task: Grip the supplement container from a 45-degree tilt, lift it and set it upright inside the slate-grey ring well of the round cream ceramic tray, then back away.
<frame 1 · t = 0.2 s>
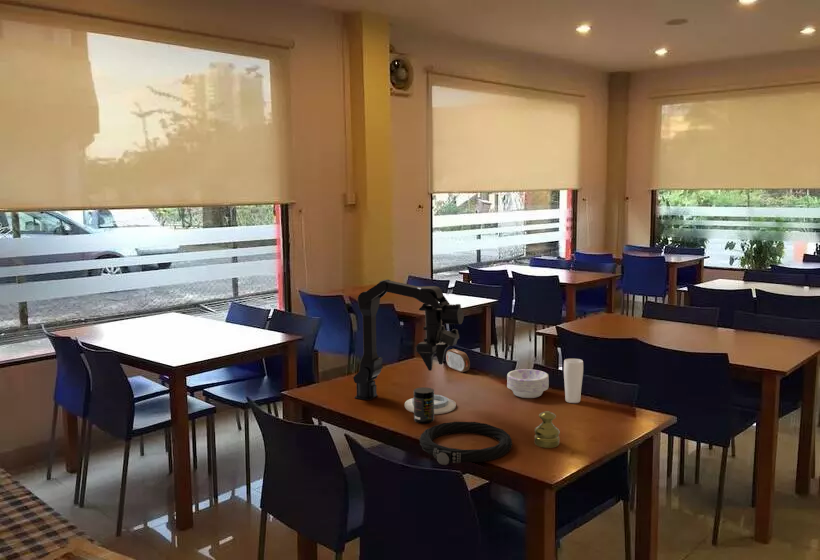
hand: (435, 367, 240), 14 cm above the table, tool pointing down, fingers open, 9 cm apart
paper bowls: (527, 395, 256), on the table
round tray: (430, 406, 243), on the table
cable lock: (463, 448, 204), on the table
tin: (457, 370, 292), on the table
gold tapered knobbed piece: (546, 444, 206), on the table
drinking glass: (572, 402, 247), on the table
supplement container: (424, 421, 228), on the table
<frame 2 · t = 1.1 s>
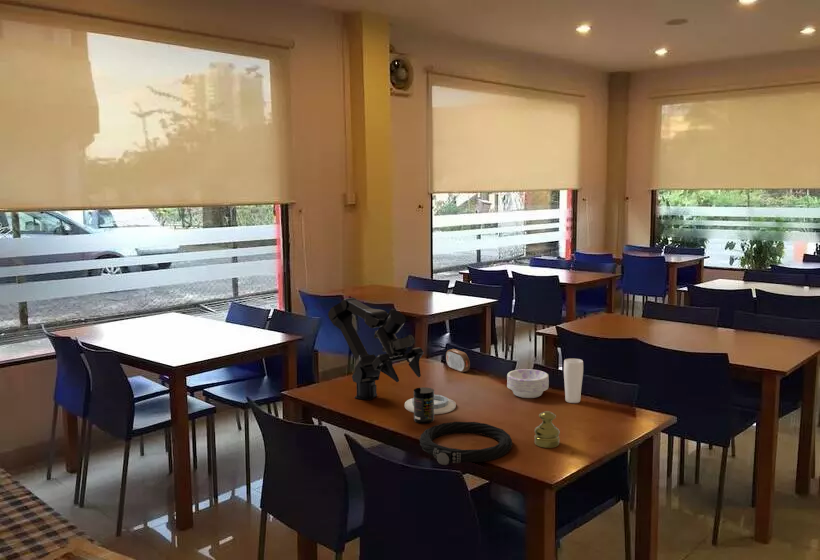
hand: (409, 379, 232), 12 cm above the table, tool tilted 45°, fingers open, 9 cm apart
nothing on the table moved.
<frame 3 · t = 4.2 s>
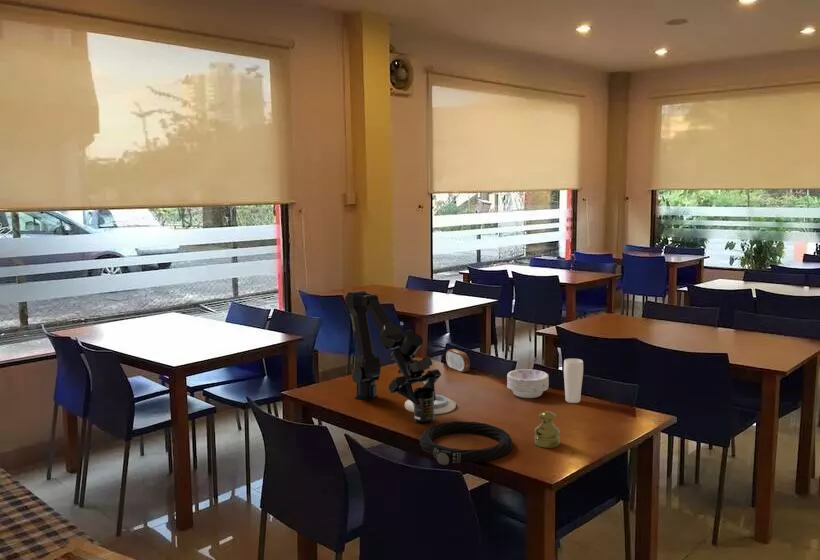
hand: (426, 402, 226), 7 cm above the table, tool tilted 45°, fingers closed on supplement container, 7 cm apart
supplement container: (424, 421, 228), on the table, touching gripper
everything else where it was.
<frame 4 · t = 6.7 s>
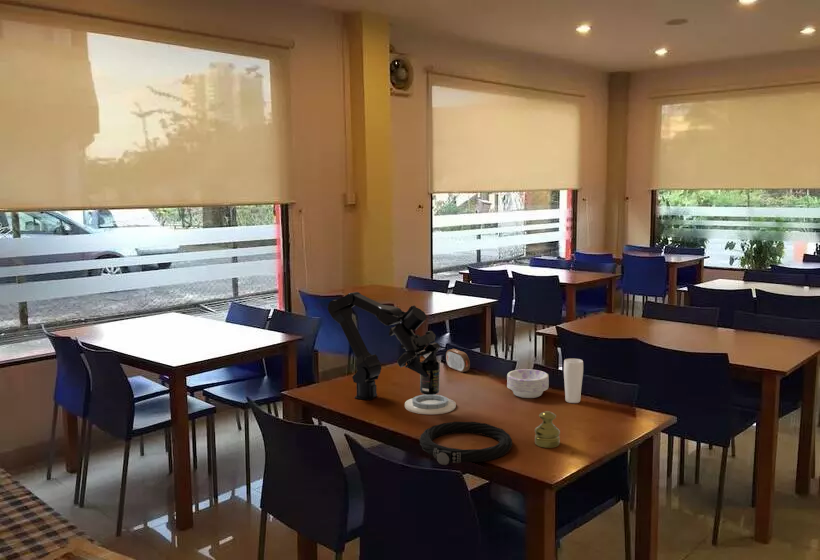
hand: (433, 374, 235), 13 cm above the table, tool tilted 45°, fingers closed on supplement container, 7 cm apart
supplement container: (429, 392, 236), point 7 cm above the table, touching gripper
everything else where it was.
when the fingers open (9 cm above the table, at t = 9.3 s): supplement container drops 1 cm, resting on round tray.
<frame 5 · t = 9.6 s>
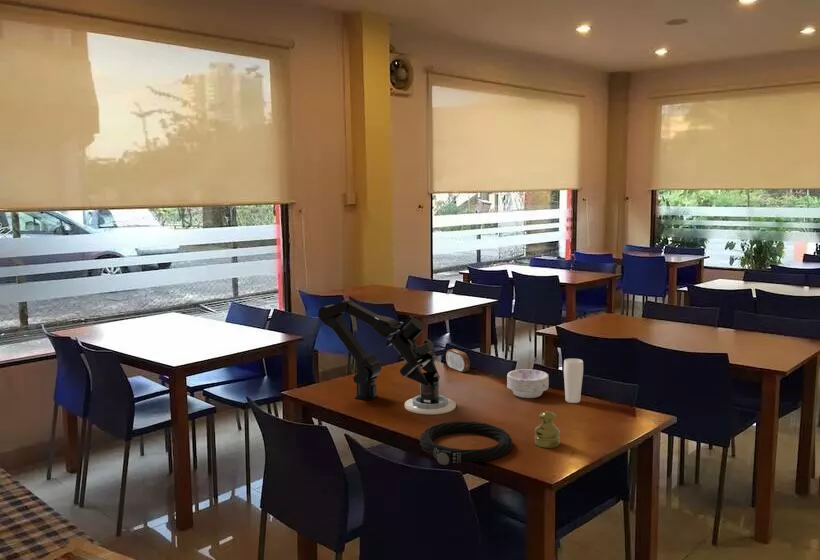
hand: (433, 381, 241), 9 cm above the table, tool tilted 45°, fingers open, 9 cm apart
supplement container: (429, 403, 243), point 1 cm above the table, touching round tray
everything else where it was.
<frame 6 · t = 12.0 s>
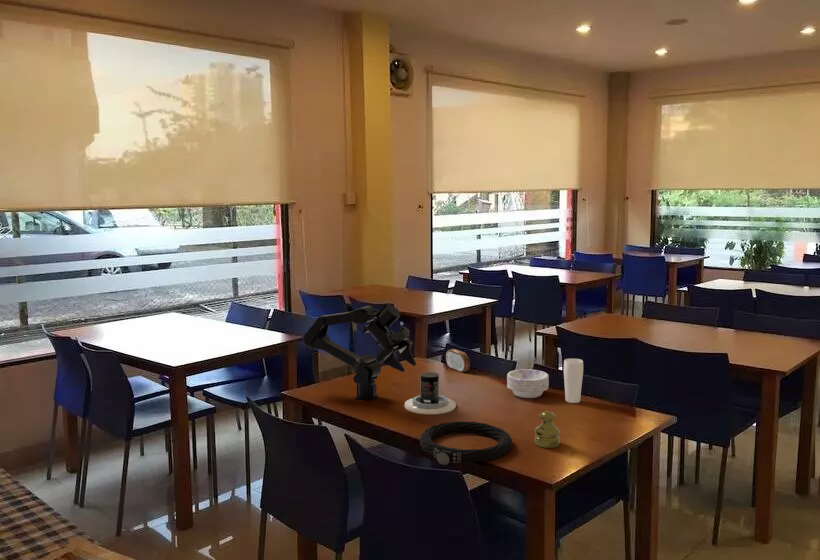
hand: (409, 368, 245), 13 cm above the table, tool tilted 45°, fingers open, 9 cm apart
nothing on the table moved.
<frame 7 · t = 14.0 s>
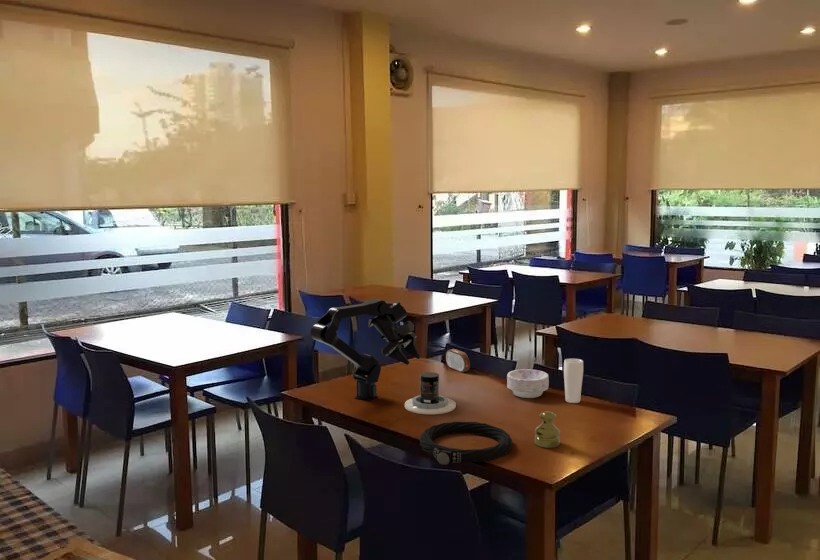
hand: (414, 361, 252), 14 cm above the table, tool tilted 45°, fingers open, 9 cm apart
nothing on the table moved.
at the end: supplement container 0.2 cm off-centre on the round tray, point 0.8 cm above the round tray's base; supplement container tilted 0°; the gripper is holding nothing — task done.
